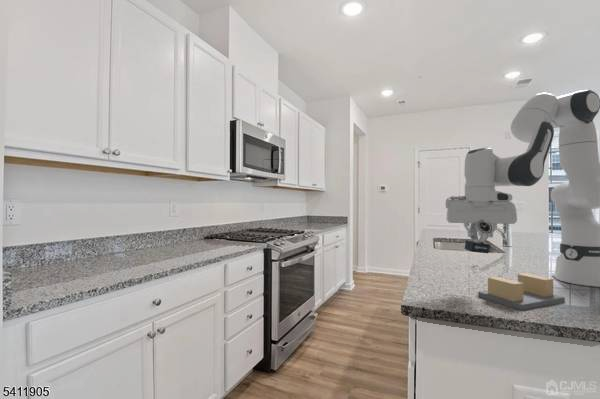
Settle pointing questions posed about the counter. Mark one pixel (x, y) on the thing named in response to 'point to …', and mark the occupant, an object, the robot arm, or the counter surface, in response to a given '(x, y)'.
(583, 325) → the counter surface
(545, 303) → the holder
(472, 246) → the watch
